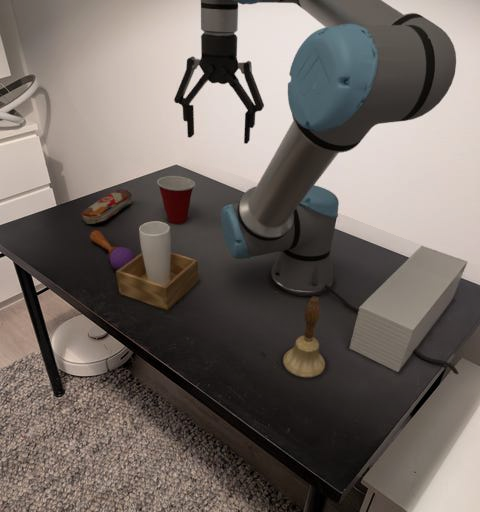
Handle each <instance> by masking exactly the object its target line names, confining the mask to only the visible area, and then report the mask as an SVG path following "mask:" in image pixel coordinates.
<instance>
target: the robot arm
mask: <svg viewBox="0 0 480 512" xmlns="http://www.w3.org/2000/svg"><path fill="white" fill-rule="evenodd" d="M258 3H262V4H263V3H270V4H271V3H273V4H276V3H277V4H295V5H297V6H298V7H300V8H301V9H302V10H304V11H305V12H306V13H308V15H310V16H311V17H312V18H314V19H315V20H316V21H317V22H319V24H321V25H322V26H323V27H322V28H320V29H317V30H315V31H314V32H313V33H311V34H310V35H309V36H307V38H306V39H305V40H304V41H303V42H302V43H301V45H300V46H299V48H298V49H297V51H296V53H295V55H294V58H293V60H292V63H291V65H290V70H289V74H288V75H289V76H290V81H289V82H288V83H287V98H288V99H287V101H288V106H289V110H290V112H291V115H292V116H291V117H292V122H291V124H290V126H289V128H288V130H287V131H286V133H285V135H284V137H283V138H282V140H281V142H280V144H279V145H278V148H277V149H276V151H275V153H274V155H273V156H272V158H271V159H270V161H269V164H268V166H267V167H266V169H265V170H264V172H263V174H262V176H261V177H260V180H259V181H258V183H257V185H256V186H254V187H251V188H249V189H248V190H246V192H244V193H243V195H242V196H241V197H240V200H239V201H238V202H237V203H234V204H233V203H229V204H228V205H225V206H223V207H222V209H221V214H220V220H221V221H220V222H221V229H222V235H223V238H224V241H225V244H226V247H227V249H228V251H229V253H230V254H231V256H232V257H233V258H235V259H237V260H244V259H251V258H254V257H258V256H263V255H269V254H274V253H278V255H277V257H276V259H275V261H274V263H273V265H272V268H271V274H270V278H271V281H272V284H273V285H274V286H275V287H277V288H278V289H279V291H280V290H281V291H282V292H284V293H287V294H288V295H289V294H290V295H292V296H297V297H313V296H315V297H317V296H319V295H322V294H325V293H327V292H328V291H329V292H330V293H331V294H332V295H333V296H334V297H336V298H337V299H339V301H341V302H342V303H343V304H344V305H345V306H346V307H347V308H349V309H351V310H352V311H354V312H356V313H358V311H359V308H356V307H355V306H353V305H352V304H350V303H349V302H348V301H347V300H346V299H345V298H344V297H342V296H341V294H339V293H338V292H336V291H335V290H334V289H333V288H332V286H333V281H334V270H333V265H332V260H331V251H332V246H333V245H332V244H333V241H334V235H335V231H336V230H335V229H336V225H337V219H338V217H339V205H340V203H339V202H340V201H339V198H338V196H336V194H334V192H332V191H331V190H329V189H327V188H325V187H322V186H319V185H315V184H316V183H317V182H318V180H319V179H321V177H322V176H323V174H324V173H325V172H326V170H327V169H328V168H329V167H330V165H331V164H332V162H334V160H335V158H337V156H338V155H339V154H340V153H346V152H349V151H352V150H353V149H355V148H356V147H357V146H358V145H359V144H360V143H361V142H362V141H363V139H364V138H365V137H366V136H367V134H368V133H369V132H370V131H371V129H372V128H373V127H375V126H377V125H380V124H388V123H397V122H399V123H400V122H406V121H407V122H408V121H411V120H415V119H418V118H420V117H423V116H424V115H426V114H427V113H430V112H431V111H432V110H433V109H434V108H436V107H437V106H438V105H439V104H440V103H441V101H442V100H443V99H444V97H446V95H447V94H448V92H449V90H450V89H451V86H452V85H453V81H454V78H455V75H456V68H457V52H456V49H455V45H454V43H453V41H452V39H451V38H450V37H449V35H448V34H447V32H446V31H445V30H444V29H442V27H439V26H438V25H437V24H436V23H434V22H432V21H431V20H429V19H427V18H426V17H424V16H423V15H421V14H419V13H417V12H409V13H405V14H403V13H402V12H400V11H399V10H398V9H396V8H394V7H392V6H391V5H390V4H388V3H386V2H385V1H384V0H200V30H201V31H202V32H203V33H202V34H201V35H200V47H201V49H200V51H201V52H200V53H201V57H200V59H199V58H196V57H195V56H190V57H188V58H187V59H186V66H185V67H186V69H185V71H184V73H183V76H182V79H181V82H180V84H179V86H178V89H177V91H176V93H175V96H174V99H173V102H174V103H175V104H179V105H180V106H181V107H182V119H183V122H186V127H187V129H186V130H187V138H193V136H194V135H195V116H194V115H195V114H194V113H195V111H194V104H191V103H192V102H193V100H194V99H195V97H196V96H197V95H198V93H200V91H201V90H202V89H203V87H204V86H205V85H206V83H208V82H210V84H221V85H226V84H228V85H229V86H230V87H231V88H232V90H233V91H234V92H235V94H236V96H237V97H238V98H239V99H240V101H241V103H242V104H243V105H244V107H245V109H246V110H247V111H246V112H245V113H244V134H243V144H248V143H249V142H250V140H251V139H250V138H251V129H253V128H254V127H255V124H256V113H257V112H261V111H262V110H263V109H264V107H265V104H264V101H263V99H262V96H261V93H260V91H259V88H258V85H257V82H256V80H255V77H254V75H253V70H252V69H253V67H252V62H251V61H250V60H247V61H243V62H239V61H238V36H237V34H236V33H237V32H238V29H239V27H238V26H239V25H238V24H239V21H238V20H239V4H241V5H256V4H258ZM198 67H199V68H200V70H201V71H202V73H203V74H202V75H201V77H200V78H199V80H198V81H197V82H196V83H195V85H194V86H193V88H192V89H191V90H190V92H188V94H187V95H186V97H185V94H186V92H187V89H188V87H189V85H190V82H191V79H192V77H193V75H194V74H195V73H194V72H195V71H196V70H197V69H198ZM238 69H239V70H240V73H241V74H243V75H244V79H245V82H246V85H247V88H248V91H249V92H250V95H251V97H252V98H251V97H250V96H249V95H248V92H247V91H246V90H245V88H244V87H243V85H242V84H241V83H240V80H239V78H238V76H237V75H236V73H237V71H238ZM413 354H415V355H416V356H417V357H419V358H420V359H422V360H424V361H425V362H429V363H434V364H439V365H444V366H446V367H448V368H449V369H450V370H451V371H452V372H453V374H455V375H459V372H458V370H457V368H456V367H455V366H454V365H453V364H452V363H450V362H448V361H445V360H442V359H436V358H431V357H428V356H426V355H424V354H422V353H421V352H420V351H419V350H417V348H415V349H414V351H413Z"/></svg>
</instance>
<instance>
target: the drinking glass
mask: <svg viewBox="0 0 480 512" xmlns="http://www.w3.org/2000/svg"><path fill="white" fill-rule="evenodd" d="M138 233H139V234H138V235H139V245H140V250H141V253H142V255H143V260H144V264H145V269H146V274H147V280H149V281H152V282H155V283H158V284H161V285H164V286H165V285H167V284H168V283H169V282H170V281H171V279H170V267H171V252H172V236H171V227H170V225H169V224H167V223H166V222H163V221H157V220H155V221H153V220H152V221H147V222H145V223H143V224H141V225H140V226H139V228H138Z"/></svg>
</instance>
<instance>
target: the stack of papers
mask: <svg viewBox="0 0 480 512" xmlns="http://www.w3.org/2000/svg"><path fill="white" fill-rule="evenodd" d="M467 264H468V260H464V259H461V258H459V257H456V256H453V255H451V254H447V253H445V252H441V251H438V250H436V249H432V248H430V247H427V246H424V245H420V246H419V248H418V249H417V250H416V251H414V253H413V254H411V255H410V256H409V257H408V259H406V260H405V261H404V262H403V264H402V265H401V266H400V267H399V268H397V269H396V270H395V272H393V273H392V274H391V275H390V276H389V277H388V278H387V279H386V280H385V281H384V282H383V283H382V284H381V285H380V286H379V287H378V288H377V289H376V290H374V292H373V293H372V294H370V295H369V297H368V298H367V299H365V301H363V303H362V304H361V305H360V306H359V308H358V309H359V311H358V312H357V316H356V320H355V325H354V328H353V332H352V335H351V336H352V337H351V339H350V344H349V349H350V350H351V351H354V352H356V353H358V354H360V355H362V356H364V357H366V358H368V359H371V360H372V361H374V362H376V363H378V364H380V365H382V366H384V367H386V368H389V369H390V370H391V371H394V372H397V373H399V372H400V371H401V369H402V368H403V367H404V365H405V364H406V363H407V361H408V360H409V359H410V357H411V356H412V354H414V352H413V351H414V349H415V348H416V349H417V348H418V347H419V345H420V344H421V343H422V341H423V340H424V339H425V337H426V336H427V335H428V333H429V332H430V331H431V329H432V328H433V326H434V325H435V324H436V323H437V321H438V320H439V318H440V317H441V316H442V314H443V313H444V312H445V310H446V309H447V308H448V306H449V305H450V303H451V302H452V301H453V299H454V297H455V294H456V291H457V289H458V286H459V284H460V281H461V279H462V276H463V274H464V272H465V269H466V267H467Z"/></svg>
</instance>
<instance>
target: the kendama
mask: <svg viewBox="0 0 480 512" xmlns="http://www.w3.org/2000/svg"><path fill="white" fill-rule="evenodd" d="M89 238H90V240H91V241H92V242H93V243H95V244H96V245H98V246H100V247H102V248H103V249H105V250H106V251H108V259H109V262H110V263H109V264H110V266H112V268H113V269H114V270H115V271H117V270H119V269H120V268H122V267H123V266H124V265H126V264H127V263H128V262H130V261H131V260H132V259H134V258H135V254H134V253H133V251H132V250H131V249H129V248H127V247H124V246H112V245H111V244H110V243H109V241H108V240H107V238H106V237H105V236H104V235H103V233H102V232H101V231H100V230H93V231H92V232H91V233H90V235H89Z"/></svg>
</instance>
